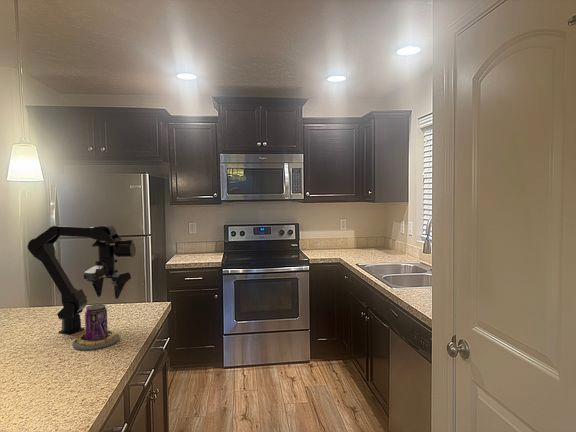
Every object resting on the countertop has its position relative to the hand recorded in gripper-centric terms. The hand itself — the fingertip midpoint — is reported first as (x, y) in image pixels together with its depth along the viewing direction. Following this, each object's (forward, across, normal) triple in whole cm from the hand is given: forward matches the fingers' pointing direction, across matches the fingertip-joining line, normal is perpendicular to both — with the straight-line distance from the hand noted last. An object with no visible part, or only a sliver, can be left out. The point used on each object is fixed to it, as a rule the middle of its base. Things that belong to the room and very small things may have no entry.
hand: (107, 297), depth 150 cm
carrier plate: (+13, +6, -11) cm, 18 cm away
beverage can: (+12, +6, -11) cm, 17 cm away
